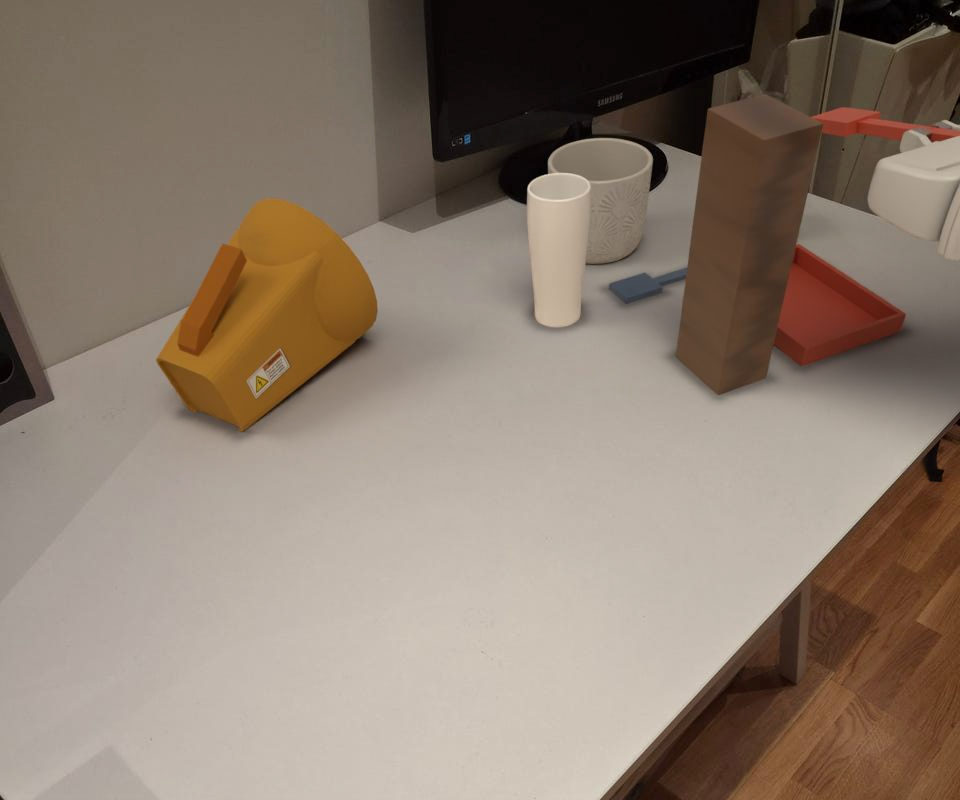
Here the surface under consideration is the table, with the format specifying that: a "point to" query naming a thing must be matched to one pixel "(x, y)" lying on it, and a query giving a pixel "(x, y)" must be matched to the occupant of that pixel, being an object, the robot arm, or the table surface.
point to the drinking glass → (558, 245)
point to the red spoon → (873, 125)
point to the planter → (610, 192)
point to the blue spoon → (644, 285)
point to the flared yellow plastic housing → (268, 315)
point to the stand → (744, 237)
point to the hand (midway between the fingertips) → (920, 134)
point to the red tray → (829, 312)
